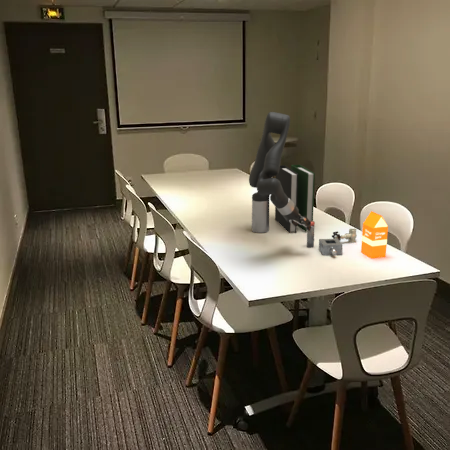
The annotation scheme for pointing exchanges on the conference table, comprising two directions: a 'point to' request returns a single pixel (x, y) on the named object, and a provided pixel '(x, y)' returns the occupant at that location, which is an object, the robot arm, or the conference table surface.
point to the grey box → (330, 247)
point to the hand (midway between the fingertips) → (303, 227)
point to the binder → (297, 193)
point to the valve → (346, 235)
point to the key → (311, 235)
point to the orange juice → (374, 236)
